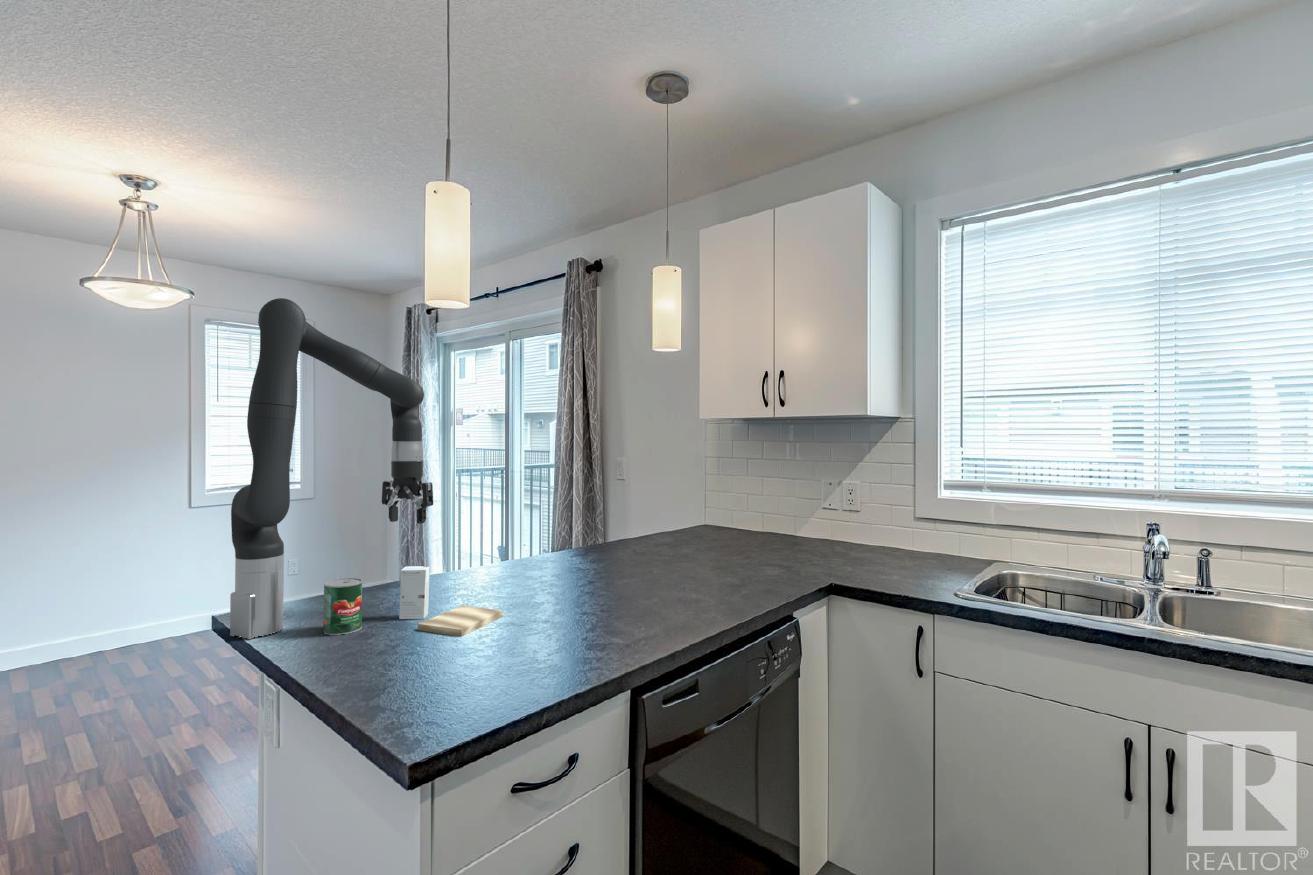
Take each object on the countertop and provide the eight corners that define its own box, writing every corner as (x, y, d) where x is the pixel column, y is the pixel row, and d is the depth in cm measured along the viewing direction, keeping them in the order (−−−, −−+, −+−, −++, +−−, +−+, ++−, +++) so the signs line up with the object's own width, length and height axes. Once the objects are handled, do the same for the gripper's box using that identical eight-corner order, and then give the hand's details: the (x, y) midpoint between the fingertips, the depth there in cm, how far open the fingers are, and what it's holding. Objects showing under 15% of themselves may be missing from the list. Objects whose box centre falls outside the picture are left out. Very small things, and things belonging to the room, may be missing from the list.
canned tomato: (345, 636, 136) (346, 587, 136) (315, 634, 137) (315, 585, 137) (369, 625, 144) (369, 578, 143) (340, 623, 145) (340, 577, 145)
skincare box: (398, 620, 148) (399, 569, 148) (403, 614, 153) (404, 565, 153) (425, 619, 149) (425, 569, 149) (429, 613, 154) (429, 565, 153)
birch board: (461, 636, 137) (461, 629, 137) (417, 630, 141) (417, 623, 141) (502, 616, 152) (502, 610, 152) (462, 611, 156) (462, 605, 156)
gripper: (373, 459, 155) (374, 523, 156) (419, 460, 151) (419, 526, 151) (395, 457, 162) (395, 519, 163) (440, 458, 158) (440, 521, 158)
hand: (407, 522), depth 157 cm, fingers open, 8 cm apart
